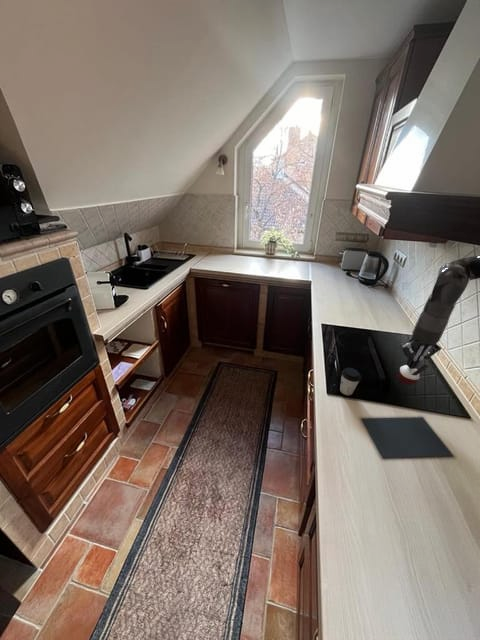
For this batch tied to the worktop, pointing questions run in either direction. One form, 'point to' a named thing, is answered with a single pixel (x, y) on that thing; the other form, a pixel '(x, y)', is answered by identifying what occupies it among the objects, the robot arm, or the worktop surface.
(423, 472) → the worktop surface
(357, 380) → the coffee cup
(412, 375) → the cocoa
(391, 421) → the mat
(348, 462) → the worktop surface
